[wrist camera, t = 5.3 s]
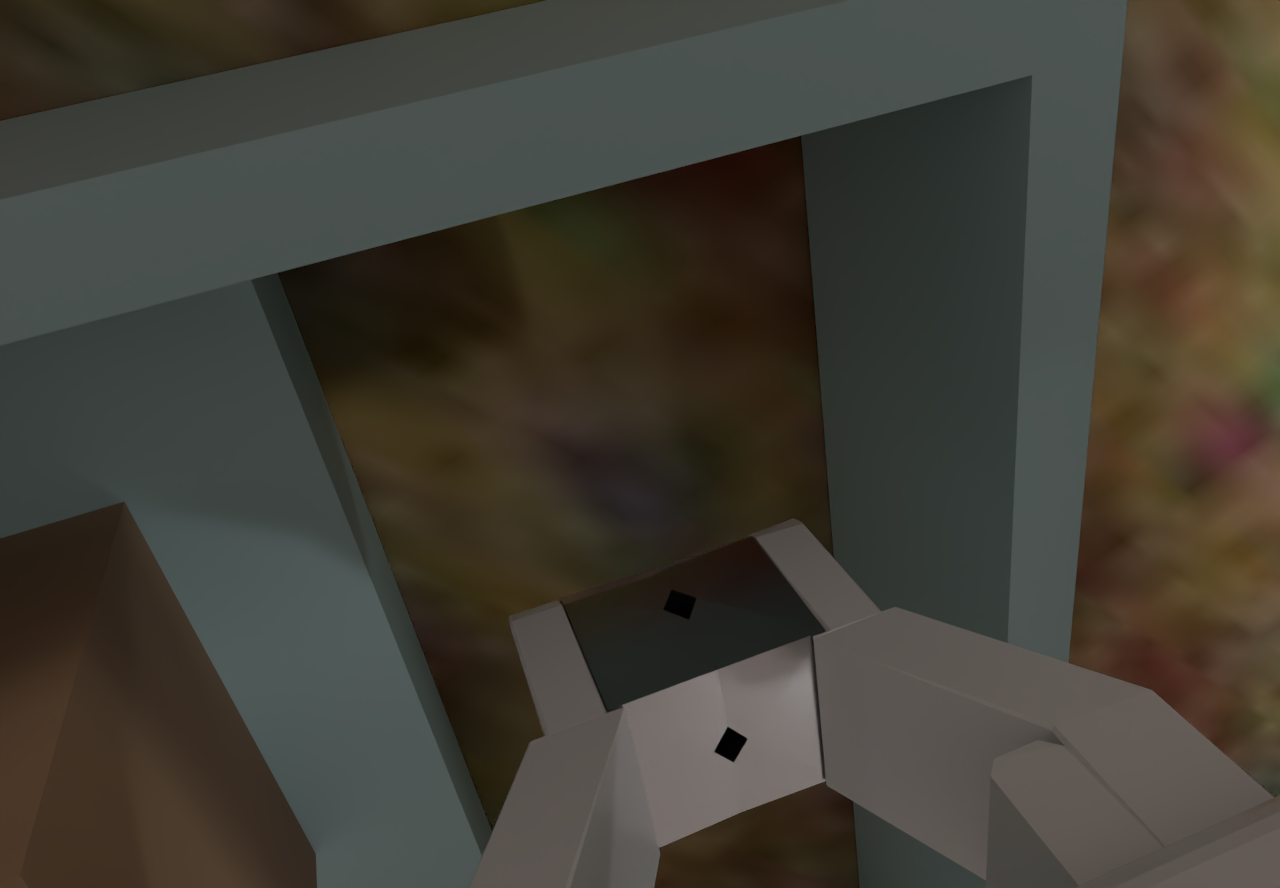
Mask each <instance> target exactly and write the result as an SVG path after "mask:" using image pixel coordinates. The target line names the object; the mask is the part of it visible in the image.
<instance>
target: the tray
mask: <svg viewBox="0 0 1280 888" xmlns="http://www.w3.org/2000/svg"><path fill="white" fill-rule="evenodd" d="M1127 2H1128V0H546V1H542V2H537V3H533V4H528V5H524V6H519V7H515V8H510V9H506V10H501V11H497V12H492V13H487V14H483V15H478V16H474V17H469V18H465V19H460V20H456V21H451V22H447V23H442V24H438V25H433V26H428V27H424V28H419V29H415V30H410V31H406V32H401V33H397V34H392V35H388V36H383V37H379V38H374V39H369V40H365V41H360V42H356V43H351V44H347V45H342V46H338V47H333V48H329V49H324V50H320V51H315V52H310V53H306V54H301V55H297V56H292V57H288V58H283V59H279V60H274V61H270V62H265V63H261V64H256V65H251V66H247V67H242V68H238V69H233V70H229V71H224V72H220V73H215V74H211V75H206V76H202V77H197V78H192V79H188V80H183V81H179V82H174V83H170V84H165V85H161V86H156V87H152V88H147V89H143V90H138V91H133V92H129V93H124V94H120V95H115V96H111V97H106V98H102V99H97V100H93V101H88V102H84V103H79V104H74V105H70V106H65V107H61V108H56V109H52V110H47V111H43V112H38V113H34V114H29V115H25V116H20V117H15V118H11V119H6V120H2V121H0V538H3V537H7V536H10V535H14V534H17V533H20V532H24V531H27V530H30V529H34V528H37V527H40V526H44V525H47V524H51V523H54V522H57V521H61V520H64V519H67V518H71V517H74V516H77V515H81V514H84V513H87V512H91V511H94V510H98V509H101V508H104V507H108V506H111V505H114V504H118V503H121V502H124V501H125V503H126V505H127V507H128V509H129V511H130V513H131V514H132V516H133V518H134V520H135V522H136V524H137V525H138V527H139V529H140V531H141V533H142V535H143V536H144V538H145V540H146V542H147V544H148V546H149V548H150V549H151V551H152V553H153V555H154V557H155V559H156V560H157V562H158V564H159V566H160V568H161V570H162V571H163V573H164V575H165V577H166V579H167V581H168V583H169V584H170V586H171V588H172V590H173V592H174V594H175V595H176V597H177V599H178V601H179V603H180V605H181V606H182V608H183V610H184V612H185V614H186V616H187V617H188V619H189V621H190V623H191V625H192V627H193V629H194V630H195V632H196V634H197V636H198V638H199V640H200V641H201V643H202V645H203V647H204V649H205V651H206V652H207V654H208V656H209V658H210V660H211V662H212V664H213V665H214V667H215V669H216V671H217V673H218V675H219V676H220V678H221V680H222V682H223V684H224V686H225V687H226V689H227V691H228V693H229V695H230V697H231V699H232V700H233V702H234V704H235V706H236V708H237V710H238V711H239V713H240V715H241V717H242V719H243V721H244V722H245V724H246V726H247V728H248V730H249V732H250V734H251V735H252V737H253V739H254V741H255V743H256V745H257V746H258V748H259V750H260V752H261V754H262V756H263V757H264V759H265V761H266V763H267V765H268V767H269V769H270V770H271V772H272V774H273V776H274V778H275V780H276V781H277V783H278V785H279V787H280V789H281V791H282V792H283V794H284V796H285V798H286V800H287V802H288V804H289V805H290V807H291V809H292V811H293V813H294V815H295V816H296V818H297V820H298V822H299V824H300V826H301V827H302V829H303V831H304V833H305V835H306V837H307V839H308V840H309V842H310V844H311V846H312V848H313V850H314V851H315V853H316V871H317V888H469V887H470V884H471V882H472V879H473V877H474V875H475V872H476V870H477V867H478V865H479V863H480V860H481V858H482V855H483V853H484V851H485V848H486V846H487V843H488V841H489V839H490V836H491V834H492V830H491V828H490V825H489V822H488V820H487V817H486V815H485V812H484V809H483V807H482V804H481V802H480V799H479V796H478V794H477V791H476V789H475V786H474V783H473V781H472V778H471V776H470V773H469V770H468V768H467V765H466V763H465V760H464V757H463V755H462V752H461V750H460V747H459V744H458V742H457V739H456V737H455V734H454V731H453V729H452V726H451V724H450V721H449V718H448V716H447V713H446V710H445V708H444V705H443V703H442V700H441V697H440V695H439V692H438V690H437V687H436V684H435V682H434V679H433V677H432V674H431V671H430V669H429V666H428V664H427V661H426V658H425V656H424V653H423V651H422V648H421V645H420V643H419V640H418V638H417V635H416V632H415V630H414V627H413V625H412V622H411V619H410V617H409V614H408V612H407V609H406V606H405V604H404V601H403V599H402V596H401V593H400V591H399V588H398V586H397V583H396V580H395V578H394V575H393V573H392V570H391V567H390V565H389V562H388V559H387V557H386V554H385V552H384V549H383V546H382V544H381V541H380V539H379V536H378V533H377V531H376V528H375V526H374V523H373V520H372V518H371V515H370V513H369V510H368V507H367V505H366V502H365V500H364V497H363V494H362V492H361V489H360V487H359V484H358V481H357V479H356V476H355V474H354V471H353V468H352V466H351V463H350V461H349V458H348V455H347V453H346V450H345V448H344V445H343V442H342V440H341V437H340V435H339V432H338V429H337V427H336V424H335V422H334V419H333V416H332V414H331V411H330V408H329V406H328V403H327V401H326V398H325V395H324V393H323V390H322V388H321V385H320V382H319V380H318V377H317V375H316V372H315V369H314V367H313V364H312V362H311V359H310V356H309V354H308V351H307V349H306V346H305V343H304V341H303V338H302V336H301V333H300V330H299V328H298V325H297V323H296V320H295V317H294V315H293V312H292V310H291V307H290V304H289V302H288V299H287V297H286V294H285V291H284V289H283V286H282V284H281V281H280V278H279V276H278V272H282V271H286V270H290V269H294V268H297V267H301V266H305V265H309V264H313V263H317V262H320V261H324V260H328V259H332V258H336V257H339V256H343V255H347V254H351V253H355V252H359V251H362V250H366V249H370V248H374V247H378V246H381V245H385V244H389V243H393V242H397V241H401V240H404V239H408V238H412V237H416V236H420V235H423V234H427V233H431V232H435V231H439V230H443V229H446V228H450V227H454V226H458V225H462V224H465V223H469V222H473V221H477V220H481V219H485V218H488V217H492V216H496V215H500V214H504V213H508V212H511V211H515V210H519V209H523V208H527V207H530V206H534V205H538V204H542V203H546V202H550V201H553V200H557V199H561V198H565V197H569V196H572V195H576V194H580V193H584V192H588V191H592V190H595V189H599V188H603V187H607V186H611V185H614V184H618V183H622V182H626V181H630V180H634V179H637V178H641V177H645V176H649V175H653V174H656V173H660V172H664V171H668V170H672V169H676V168H679V167H683V166H687V165H691V164H695V163H698V162H702V161H706V160H710V159H714V158H718V157H721V156H725V155H729V154H733V153H737V152H740V151H744V150H748V149H752V148H756V147H760V146H763V145H767V144H771V143H775V142H779V141H782V140H786V139H790V138H794V137H798V136H801V141H802V154H803V167H804V180H805V193H806V206H807V219H808V231H809V244H810V257H811V270H812V283H813V296H814V308H815V321H816V334H817V347H818V360H819V373H820V386H821V398H822V411H823V424H824V437H825V450H826V463H827V475H828V488H829V501H830V514H831V527H832V540H833V553H834V559H835V560H836V561H837V562H838V563H839V564H840V566H841V567H842V568H843V569H844V570H845V571H846V572H847V573H848V575H849V576H850V577H851V578H852V579H853V580H854V581H855V582H856V583H857V585H858V586H859V587H860V588H861V589H862V590H863V591H864V592H865V594H866V595H867V596H868V597H869V598H870V599H871V600H872V601H873V603H874V604H875V605H876V606H877V607H878V608H879V609H880V610H881V612H882V611H885V610H888V609H890V608H893V607H898V608H901V609H904V610H907V611H910V612H913V613H916V614H919V615H922V616H925V617H928V618H932V619H935V620H938V621H941V622H944V623H947V624H950V625H953V626H956V627H959V628H962V629H965V630H969V631H972V632H975V633H978V634H981V635H984V636H987V637H990V638H993V639H996V640H999V641H1002V642H1006V643H1009V644H1012V645H1015V646H1018V647H1021V648H1024V649H1027V650H1030V651H1033V652H1036V653H1039V654H1043V655H1046V656H1049V657H1052V658H1055V659H1058V660H1061V661H1064V662H1067V663H1069V651H1070V640H1071V629H1072V618H1073V607H1074V595H1075V584H1076V573H1077V562H1078V551H1079V539H1080V528H1081V517H1082V506H1083V495H1084V483H1085V472H1086V461H1087V450H1088V439H1089V427H1090V416H1091V405H1092V394H1093V383H1094V371H1095V360H1096V349H1097V338H1098V327H1099V315H1100V304H1101V293H1102V282H1103V271H1104V259H1105V248H1106V237H1107V226H1108V215H1109V203H1110V192H1111V181H1112V170H1113V159H1114V148H1115V136H1116V125H1117V114H1118V103H1119V92H1120V80H1121V69H1122V58H1123V47H1124V36H1125V24H1126V13H1127ZM853 810H854V822H855V835H856V848H857V861H858V874H859V887H860V888H986V880H984V879H982V878H981V877H979V876H977V875H976V874H974V873H972V872H971V871H969V870H967V869H966V868H964V867H962V866H961V865H959V864H957V863H956V862H954V861H952V860H951V859H949V858H947V857H946V856H944V855H942V854H940V853H939V852H937V851H935V850H934V849H932V848H930V847H929V846H927V845H925V844H924V843H922V842H920V841H919V840H917V839H915V838H914V837H912V836H910V835H909V834H907V833H905V832H904V831H902V830H900V829H899V828H897V827H895V826H894V825H892V824H890V823H889V822H887V821H885V820H884V819H882V818H880V817H879V816H877V815H875V814H874V813H872V812H870V811H868V810H867V809H865V808H863V807H862V806H860V805H858V804H857V803H855V802H853Z"/></svg>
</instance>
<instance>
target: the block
mask: <svg viewBox="0 0 1280 888" xmlns="http://www.w3.org/2000/svg"><path fill="white" fill-rule="evenodd" d="M0 888H317V871H316V853H315V851H314V850H313V848H312V846H311V844H310V842H309V840H308V839H307V837H306V835H305V833H304V831H303V829H302V827H301V826H300V824H299V822H298V820H297V818H296V816H295V815H294V813H293V811H292V809H291V807H290V805H289V804H288V802H287V800H286V798H285V796H284V794H283V792H282V791H281V789H280V787H279V785H278V783H277V781H276V780H275V778H274V776H273V774H272V772H271V770H270V769H269V767H268V765H267V763H266V761H265V759H264V757H263V756H262V754H261V752H260V750H259V748H258V746H257V745H256V743H255V741H254V739H253V737H252V735H251V734H250V732H249V730H248V728H247V726H246V724H245V722H244V721H243V719H242V717H241V715H240V713H239V711H238V710H237V708H236V706H235V704H234V702H233V700H232V699H231V697H230V695H229V693H228V691H227V689H226V687H225V686H224V684H223V682H222V680H221V678H220V676H219V675H218V673H217V671H216V669H215V667H214V665H213V664H212V662H211V660H210V658H209V656H208V654H207V652H206V651H205V649H204V647H203V645H202V643H201V641H200V640H199V638H198V636H197V634H196V632H195V630H194V629H193V627H192V625H191V623H190V621H189V619H188V617H187V616H186V614H185V612H184V610H183V608H182V606H181V605H180V603H179V601H178V599H177V597H176V595H175V594H174V592H173V590H172V588H171V586H170V584H169V583H168V581H167V579H166V577H165V575H164V573H163V571H162V570H161V568H160V566H159V564H158V562H157V560H156V559H155V557H154V555H153V553H152V551H151V549H150V548H149V546H148V544H147V542H146V540H145V538H144V536H143V535H142V533H141V531H140V529H139V527H138V525H137V524H136V522H135V520H134V518H133V516H132V514H131V513H130V511H129V509H128V507H127V505H126V503H125V501H124V502H121V503H118V504H114V505H111V506H108V507H104V508H101V509H98V510H94V511H91V512H87V513H84V514H81V515H77V516H74V517H71V518H67V519H64V520H61V521H57V522H54V523H51V524H47V525H44V526H40V527H37V528H34V529H30V530H27V531H24V532H20V533H17V534H14V535H10V536H7V537H3V538H0Z"/></svg>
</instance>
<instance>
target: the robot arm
mask: <svg viewBox="0 0 1280 888" xmlns="http://www.w3.org/2000/svg"><path fill="white" fill-rule="evenodd" d="M508 617H509V625H510V629H511V632H512V635H513V639H514V642H515V645H516V648H517V651H518V655H519V658H520V661H521V664H522V668H523V671H524V674H525V677H526V680H527V684H528V687H529V690H530V693H531V697H532V700H533V703H534V706H535V709H536V713H537V716H538V719H539V722H540V726H541V729H542V732H543V735H544V737H541V738H538V739H536V740H533V741H531V742H530V743H529V745H528V747H527V750H526V752H525V755H524V757H523V759H522V762H521V764H520V767H519V769H518V771H517V774H516V776H515V779H514V781H513V783H512V786H511V788H510V791H509V793H508V795H507V798H506V800H505V803H504V805H503V807H502V810H501V812H500V815H499V817H498V819H497V822H496V824H495V827H494V829H493V831H492V834H491V836H490V839H489V841H488V843H487V846H486V848H485V851H484V853H483V855H482V858H481V860H480V863H479V865H478V867H477V870H476V872H475V875H474V877H473V879H472V882H471V884H470V887H469V888H654V886H655V880H656V875H657V869H658V864H659V858H660V850H659V848H660V847H663V846H665V845H667V844H669V843H672V842H674V841H676V840H679V839H681V838H683V837H686V836H688V835H690V834H692V833H695V832H697V831H699V830H702V829H704V828H706V827H709V826H711V825H713V824H715V823H718V822H720V821H722V820H725V819H727V818H729V817H732V816H734V815H736V814H738V813H741V812H744V811H746V810H749V809H752V808H754V807H757V806H760V805H762V804H765V803H768V802H771V801H773V800H776V799H779V798H781V797H784V796H787V795H789V794H792V793H795V792H798V791H800V790H803V789H806V788H808V787H811V786H814V785H816V784H819V783H822V782H825V781H826V785H827V786H828V787H830V788H832V789H833V790H835V791H837V792H838V793H840V794H842V795H843V796H845V797H847V798H848V799H850V800H852V801H853V802H855V803H857V804H858V805H860V806H862V807H863V808H865V809H867V810H868V811H870V812H872V813H874V814H875V815H877V816H879V817H880V818H882V819H884V820H885V821H887V822H889V823H890V824H892V825H894V826H895V827H897V828H899V829H900V830H902V831H904V832H905V833H907V834H909V835H910V836H912V837H914V838H915V839H917V840H919V841H920V842H922V843H924V844H925V845H927V846H929V847H930V848H932V849H934V850H935V851H937V852H939V853H940V854H942V855H944V856H946V857H947V858H949V859H951V860H952V861H954V862H956V863H957V864H959V865H961V866H962V867H964V868H966V869H967V870H969V871H971V872H972V873H974V874H976V875H977V876H979V877H981V878H982V879H984V880H986V888H1280V795H1279V796H1277V797H1275V798H1274V797H1273V796H1272V795H1271V794H1270V793H1269V792H1267V791H1266V790H1265V789H1264V788H1263V787H1262V786H1261V785H1259V784H1258V783H1257V782H1256V781H1255V780H1254V779H1253V778H1252V777H1250V776H1249V775H1248V774H1247V773H1246V772H1245V771H1244V770H1242V769H1241V768H1240V767H1239V766H1238V765H1237V764H1236V763H1234V762H1233V761H1232V760H1231V759H1230V758H1229V757H1228V756H1226V755H1225V754H1224V753H1223V752H1222V751H1221V750H1220V749H1218V748H1217V747H1216V746H1215V745H1214V744H1213V743H1212V742H1211V741H1209V740H1208V739H1207V738H1206V737H1205V736H1204V735H1203V734H1201V733H1200V732H1199V731H1198V730H1197V729H1196V728H1195V727H1193V726H1192V725H1191V724H1190V723H1189V722H1188V721H1187V720H1185V719H1184V718H1183V717H1182V716H1181V715H1180V714H1179V713H1178V712H1176V711H1175V710H1174V709H1173V708H1172V707H1171V706H1170V705H1168V704H1167V703H1166V702H1165V701H1164V700H1163V699H1162V698H1160V697H1159V696H1158V695H1157V694H1156V693H1155V692H1154V691H1152V690H1150V689H1147V688H1144V687H1141V686H1138V685H1135V684H1132V683H1129V682H1126V681H1123V680H1120V679H1117V678H1113V677H1110V676H1107V675H1104V674H1101V673H1098V672H1095V671H1092V670H1089V669H1086V668H1083V667H1080V666H1076V665H1073V664H1070V663H1067V662H1064V661H1061V660H1058V659H1055V658H1052V657H1049V656H1046V655H1043V654H1039V653H1036V652H1033V651H1030V650H1027V649H1024V648H1021V647H1018V646H1015V645H1012V644H1009V643H1006V642H1002V641H999V640H996V639H993V638H990V637H987V636H984V635H981V634H978V633H975V632H972V631H969V630H965V629H962V628H959V627H956V626H953V625H950V624H947V623H944V622H941V621H938V620H935V619H932V618H928V617H925V616H922V615H919V614H916V613H913V612H910V611H907V610H904V609H901V608H898V607H893V608H890V609H888V610H885V611H882V612H881V610H880V609H879V608H878V607H877V606H876V605H875V604H874V603H873V601H872V600H871V599H870V598H869V597H868V596H867V595H866V594H865V592H864V591H863V590H862V589H861V588H860V587H859V586H858V585H857V583H856V582H855V581H854V580H853V579H852V578H851V577H850V576H849V575H848V573H847V572H846V571H845V570H844V569H843V568H842V567H841V566H840V564H839V563H838V562H837V561H836V560H835V559H834V558H833V557H832V555H831V554H830V553H829V552H828V551H827V550H826V549H825V548H824V546H823V545H822V544H821V543H820V542H819V541H818V540H817V539H816V537H815V536H814V535H813V534H812V533H811V532H810V531H809V530H808V528H807V527H806V526H805V525H804V524H803V523H802V522H801V521H798V520H796V519H790V520H787V521H784V522H782V523H779V524H776V525H774V526H771V527H768V528H765V529H763V530H760V531H757V532H755V533H752V534H749V535H748V536H747V537H746V538H742V539H739V540H736V541H733V542H731V543H728V544H725V545H722V546H719V547H716V548H713V549H711V550H708V551H705V552H702V553H699V554H696V555H693V556H690V557H688V558H685V559H682V560H679V561H676V562H673V563H670V564H668V565H665V566H662V567H659V568H655V569H651V570H648V571H645V572H642V573H639V574H636V575H633V576H629V577H626V578H623V579H620V580H617V581H614V582H611V583H607V584H604V585H601V586H598V587H595V588H592V589H589V590H585V591H582V592H579V593H576V594H573V595H570V596H566V597H563V598H560V603H559V602H558V601H557V600H556V601H553V602H550V603H547V604H544V605H540V606H537V607H534V608H531V609H528V610H525V611H522V612H519V613H516V614H513V615H510V616H508Z"/></svg>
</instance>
